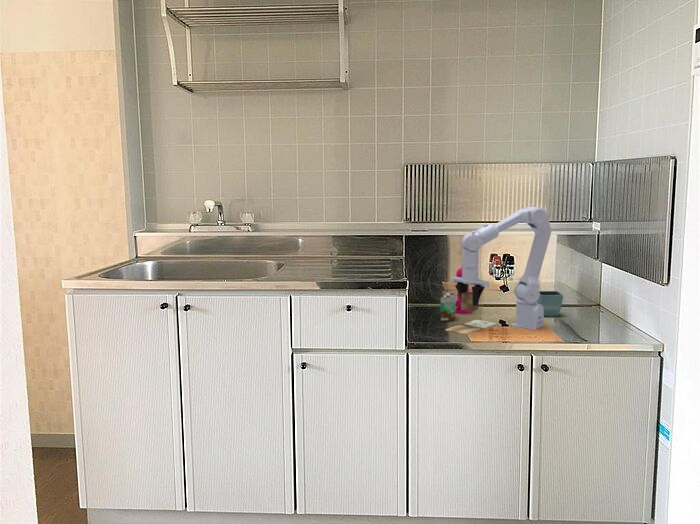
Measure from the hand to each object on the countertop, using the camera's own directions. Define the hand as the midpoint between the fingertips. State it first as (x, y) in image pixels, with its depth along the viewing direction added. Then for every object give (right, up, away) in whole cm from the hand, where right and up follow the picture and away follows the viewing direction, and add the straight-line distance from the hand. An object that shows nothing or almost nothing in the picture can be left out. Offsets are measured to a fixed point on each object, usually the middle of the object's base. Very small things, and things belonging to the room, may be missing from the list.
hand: (469, 304), depth 232 cm
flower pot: (+35, -6, +20) cm, 41 cm away
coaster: (-3, -10, -2) cm, 10 cm away
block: (0, -2, 0) cm, 2 cm away
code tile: (+5, -8, +7) cm, 12 cm away
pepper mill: (+2, -5, +26) cm, 26 cm away
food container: (-5, -7, +15) cm, 17 cm away
